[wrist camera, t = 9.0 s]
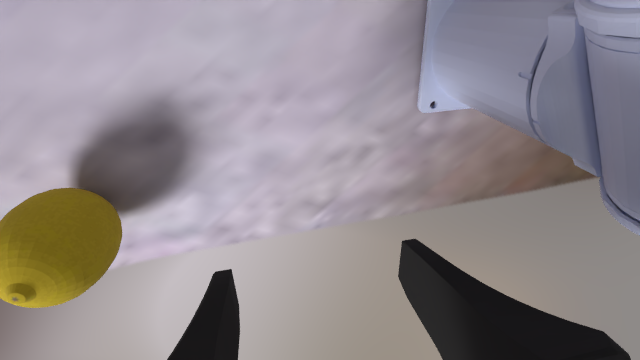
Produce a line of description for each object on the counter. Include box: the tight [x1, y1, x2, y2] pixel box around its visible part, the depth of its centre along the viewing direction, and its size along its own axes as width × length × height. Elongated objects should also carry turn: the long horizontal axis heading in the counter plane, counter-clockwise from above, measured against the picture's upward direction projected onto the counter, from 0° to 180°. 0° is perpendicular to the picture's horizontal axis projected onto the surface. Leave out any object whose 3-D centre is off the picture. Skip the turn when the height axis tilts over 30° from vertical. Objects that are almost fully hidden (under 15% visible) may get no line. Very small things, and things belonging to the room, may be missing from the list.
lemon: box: [0, 188, 122, 308], centre depth 18 cm, size 6×6×8 cm
